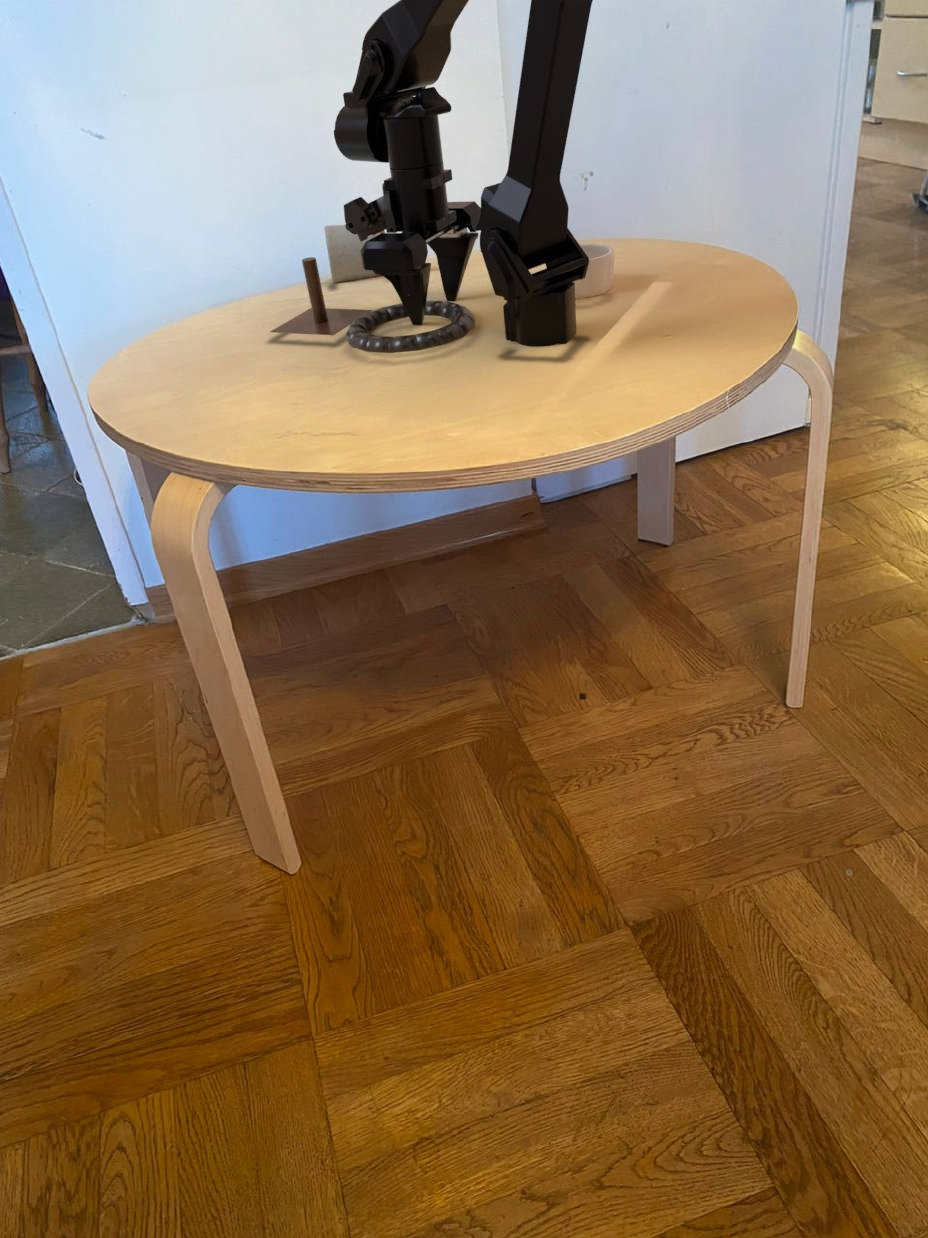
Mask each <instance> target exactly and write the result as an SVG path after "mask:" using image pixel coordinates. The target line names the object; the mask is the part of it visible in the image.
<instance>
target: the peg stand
mask: <svg viewBox="0 0 928 1238" xmlns="http://www.w3.org/2000/svg"><path fill="white" fill-rule="evenodd" d="M301 264H302V269H303V272H304V277H305V283H306V287H307V293H308V297H309V301H310V305H311V307H310V308H308V309H306V310H305V311H303V312H301V313H299V314H297V315H296V316H294V317H293V318H291V319H289V320H287V321H285V322H284V323H282V324H280V325H279V326H277V327H276V328H274V329H272V330H270V331H269V333H273V334H274V333H276V334H295V335H315V336H316V335H317V336H334V335H336V334H337V333H339V332H341V331H342V330H344V329H346V328H347V327H349V326H350V325H351V323H352V322H353V321H355V320H356V319H358V318H359V317H361V316H363V315H364V314H366V313H369V312H371V311H373V309H356V308H329V307H328V308H327V307H326V303H325V297H324V293H323V288H322V287H323V286H322V282H321V276H320V273H319V268H318V263H317V257H313V256H311V257H305V258H302V260H301Z"/></svg>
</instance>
